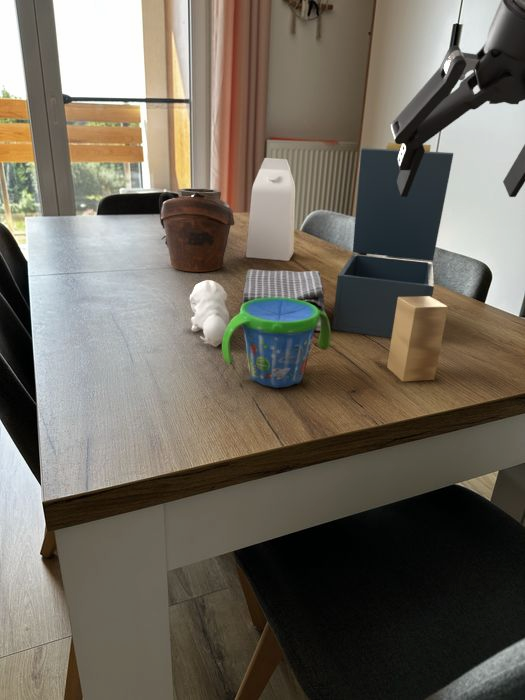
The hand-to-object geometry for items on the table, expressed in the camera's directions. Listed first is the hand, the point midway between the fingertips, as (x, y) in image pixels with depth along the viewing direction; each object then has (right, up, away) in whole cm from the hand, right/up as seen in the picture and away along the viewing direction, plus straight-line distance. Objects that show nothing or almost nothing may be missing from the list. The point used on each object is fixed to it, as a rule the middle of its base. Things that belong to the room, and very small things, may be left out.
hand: (455, 189), depth 63 cm
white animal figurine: (-32, -18, +22) cm, 43 cm away
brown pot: (-40, +1, +68) cm, 79 cm away
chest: (-1, -14, +35) cm, 38 cm away
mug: (-47, +16, +102) cm, 114 cm away
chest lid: (+2, +7, +33) cm, 34 cm away
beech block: (-2, -23, +12) cm, 26 cm away
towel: (-20, -13, +34) cm, 42 cm away
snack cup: (-22, -24, +9) cm, 33 cm away
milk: (-21, +8, +85) cm, 88 cm away
